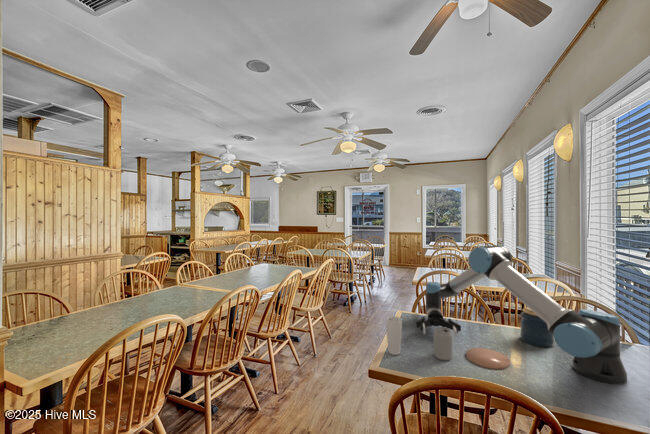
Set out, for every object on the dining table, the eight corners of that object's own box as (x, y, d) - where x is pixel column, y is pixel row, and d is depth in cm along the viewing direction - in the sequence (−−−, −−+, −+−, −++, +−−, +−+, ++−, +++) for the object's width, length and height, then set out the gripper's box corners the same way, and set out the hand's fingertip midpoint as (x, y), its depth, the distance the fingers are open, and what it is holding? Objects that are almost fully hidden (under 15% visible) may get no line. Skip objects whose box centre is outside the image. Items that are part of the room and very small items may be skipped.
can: (455, 361, 121) (455, 332, 121) (437, 361, 121) (437, 332, 121) (448, 353, 128) (448, 325, 128) (431, 353, 128) (430, 325, 128)
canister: (561, 348, 131) (560, 309, 131) (530, 347, 133) (529, 308, 133) (542, 336, 144) (542, 300, 144) (514, 335, 146) (514, 300, 146)
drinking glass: (389, 347, 134) (389, 315, 134) (404, 351, 130) (403, 317, 130) (384, 354, 128) (384, 319, 128) (399, 357, 124) (399, 322, 124)
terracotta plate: (519, 364, 118) (519, 362, 118) (489, 372, 112) (489, 369, 112) (485, 347, 133) (485, 345, 133) (457, 353, 127) (457, 351, 127)
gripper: (460, 326, 151) (469, 343, 131) (410, 321, 158) (411, 338, 137) (460, 311, 151) (469, 327, 131) (410, 308, 158) (411, 322, 137)
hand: (440, 332), depth 134 cm, fingers open, 13 cm apart
